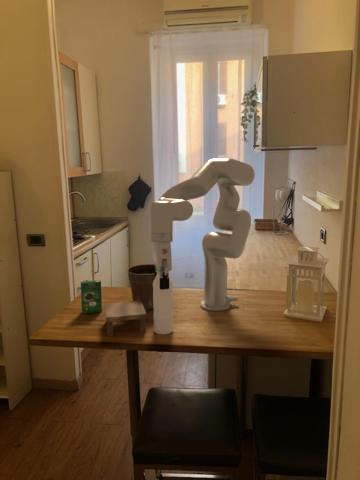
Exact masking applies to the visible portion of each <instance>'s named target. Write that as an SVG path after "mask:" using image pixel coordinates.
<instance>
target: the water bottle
mask: <svg viewBox="0 0 360 480" xmlns="http://www.w3.org/2000/svg"><path fill="white" fill-rule="evenodd" d="M162 264H163V263H162ZM156 272H157V275H156V277H155V280H154V282H153V308H154V309H153V316H152V317H153V332H154V333H155V334H157V335H169V334H171V333H172V332H173V331H174V323H173V322H174V321H173V320H174V313H173V311H174V310H173V308H174V295H173V285H174V283H173V280H172V279H171V276H170V275H169V289H164V290H160V278H161V277H160V271H158V270H157V269H156ZM168 272H170V270H169V269H168ZM162 273H163V272H162Z"/></svg>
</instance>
